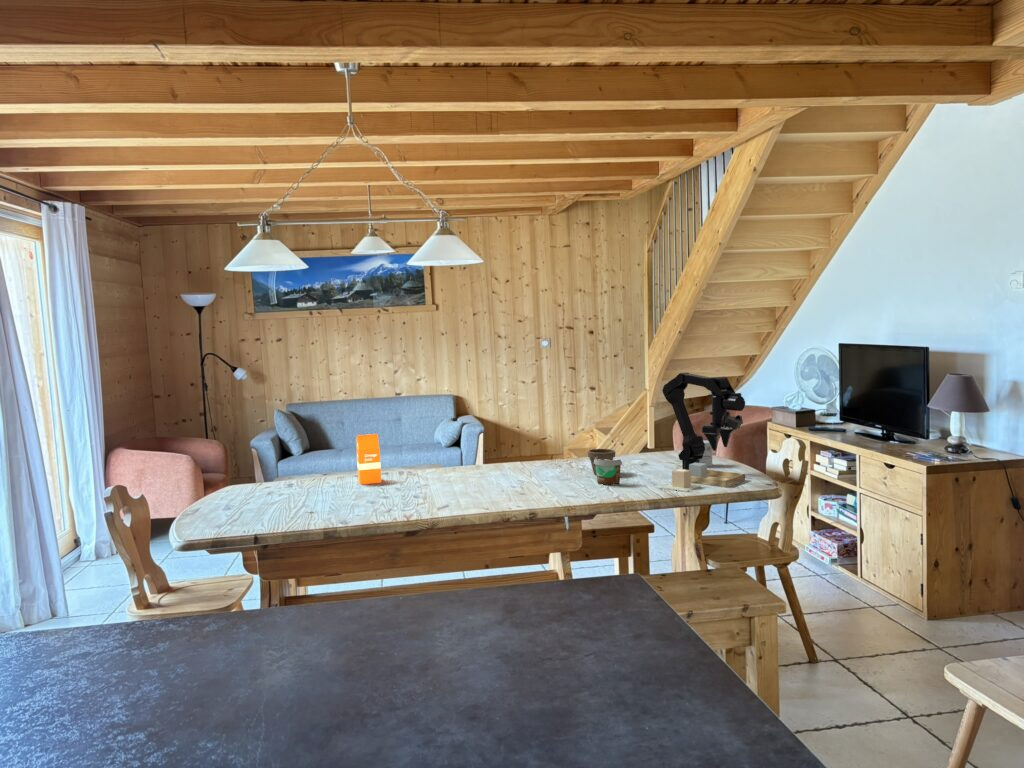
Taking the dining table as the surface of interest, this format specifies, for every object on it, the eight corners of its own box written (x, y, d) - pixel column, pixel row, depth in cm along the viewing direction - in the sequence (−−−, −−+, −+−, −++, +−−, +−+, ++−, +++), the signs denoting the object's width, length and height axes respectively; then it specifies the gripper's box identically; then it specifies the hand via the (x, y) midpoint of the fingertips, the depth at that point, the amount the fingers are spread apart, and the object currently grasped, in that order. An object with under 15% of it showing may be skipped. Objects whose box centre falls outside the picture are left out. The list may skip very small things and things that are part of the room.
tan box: (672, 486, 287) (671, 470, 287) (679, 484, 291) (678, 468, 291) (683, 488, 284) (683, 472, 283) (690, 485, 288) (690, 469, 287)
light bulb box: (710, 464, 332) (710, 439, 331) (712, 467, 325) (712, 442, 324) (685, 464, 333) (685, 440, 332) (687, 467, 326) (687, 442, 325)
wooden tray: (675, 482, 297) (674, 474, 297) (694, 475, 309) (694, 468, 309) (726, 488, 283) (726, 480, 283) (744, 481, 295) (744, 473, 294)
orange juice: (381, 482, 318) (379, 435, 316) (360, 484, 315) (357, 436, 313) (378, 478, 325) (376, 432, 323) (358, 480, 322) (355, 434, 321)
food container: (587, 483, 301) (587, 458, 300) (597, 480, 305) (596, 456, 305) (613, 487, 292) (612, 461, 292) (622, 484, 297) (621, 459, 296)
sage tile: (661, 488, 287) (661, 487, 287) (675, 483, 295) (675, 481, 295) (687, 492, 280) (687, 490, 280) (701, 486, 288) (701, 485, 288)
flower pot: (613, 471, 324) (613, 447, 323) (618, 476, 312) (617, 452, 312) (586, 472, 324) (586, 448, 323) (590, 477, 312) (589, 453, 311)
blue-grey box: (689, 479, 299) (689, 464, 299) (695, 477, 303) (695, 462, 302) (700, 481, 296) (700, 465, 295) (706, 478, 300) (706, 463, 299)
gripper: (727, 412, 284) (728, 454, 285) (749, 407, 298) (750, 446, 299) (700, 411, 291) (701, 451, 293) (723, 406, 305) (723, 444, 306)
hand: (720, 448), depth 297 cm, fingers open, 9 cm apart
